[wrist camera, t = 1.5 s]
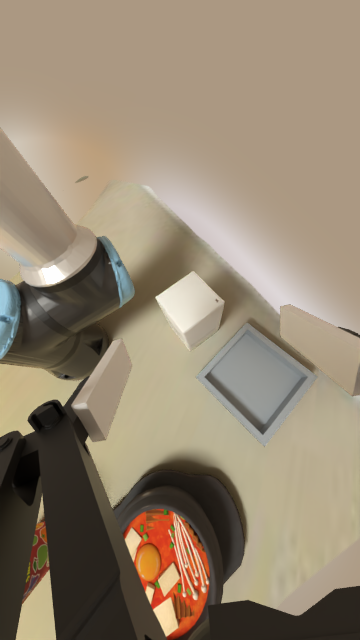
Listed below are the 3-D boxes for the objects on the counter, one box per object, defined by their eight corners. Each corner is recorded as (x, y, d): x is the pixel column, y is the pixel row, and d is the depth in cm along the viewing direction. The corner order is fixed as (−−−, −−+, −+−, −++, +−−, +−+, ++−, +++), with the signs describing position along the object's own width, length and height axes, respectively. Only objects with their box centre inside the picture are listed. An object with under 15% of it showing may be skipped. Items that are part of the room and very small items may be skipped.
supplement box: (196, 304, 46) (194, 268, 33) (219, 330, 43) (227, 301, 29) (168, 324, 45) (153, 296, 31) (189, 352, 42) (183, 334, 28)
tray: (196, 378, 40) (195, 377, 36) (243, 327, 43) (246, 322, 39) (258, 441, 34) (264, 446, 31) (307, 377, 37) (317, 376, 34)
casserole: (214, 444, 35) (217, 459, 27) (263, 579, 28) (287, 653, 20) (93, 493, 34) (62, 523, 26) (112, 643, 27) (76, 745, 19)
